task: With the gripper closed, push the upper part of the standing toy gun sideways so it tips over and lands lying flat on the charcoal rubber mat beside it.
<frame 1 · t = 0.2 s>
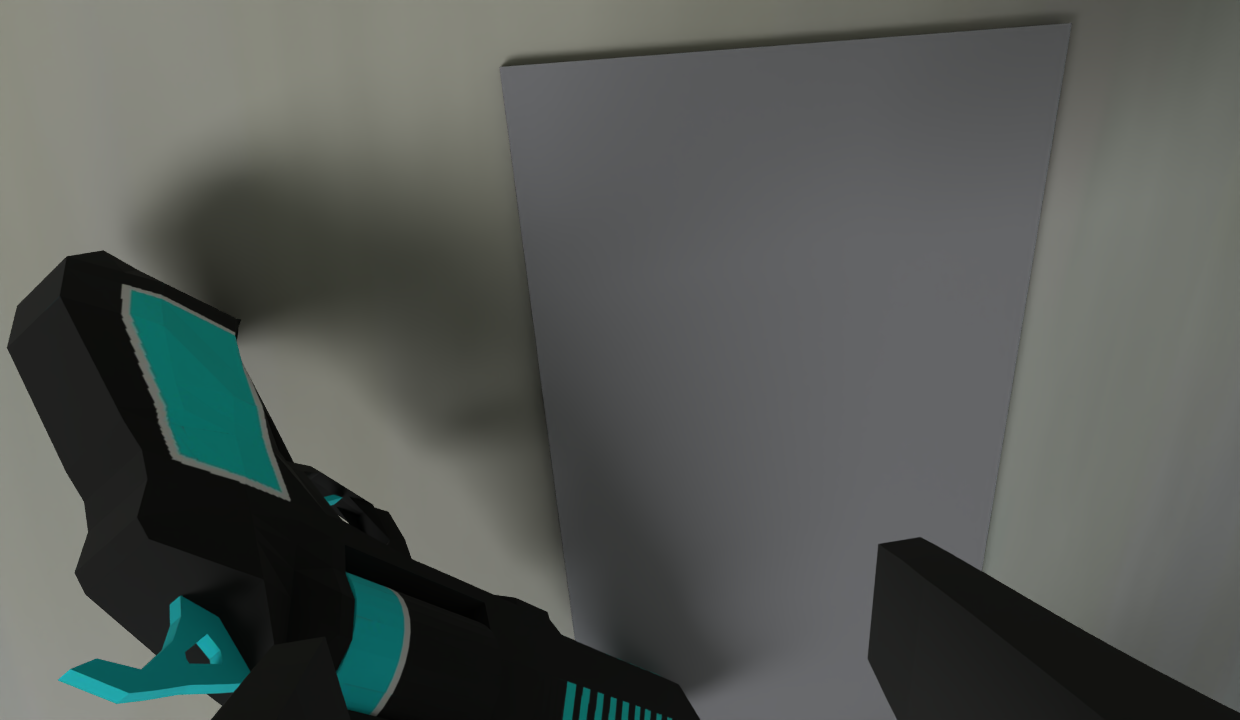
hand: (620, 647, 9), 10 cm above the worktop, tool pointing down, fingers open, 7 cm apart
mat: (785, 476, 21), on the worktop
toy gun: (454, 528, 19), on the worktop, touching mat
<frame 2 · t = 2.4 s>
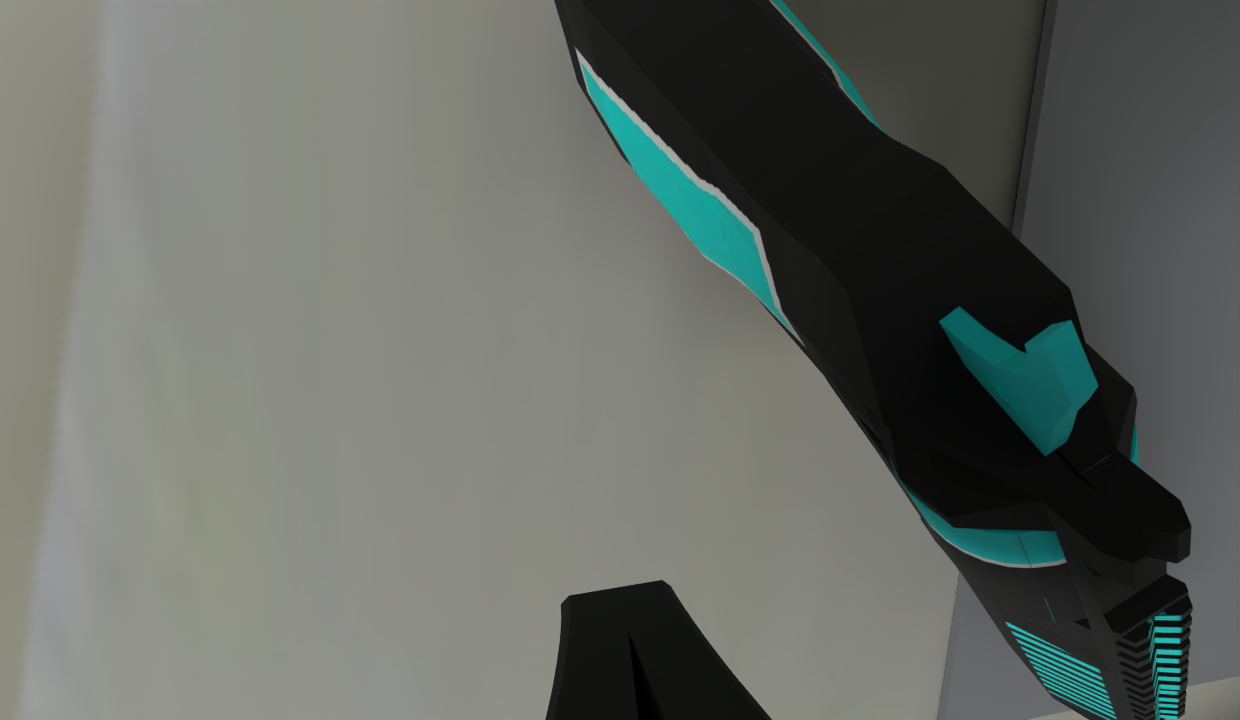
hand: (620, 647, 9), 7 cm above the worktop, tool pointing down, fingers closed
toy gun: (873, 383, 16), on the worktop, touching mat
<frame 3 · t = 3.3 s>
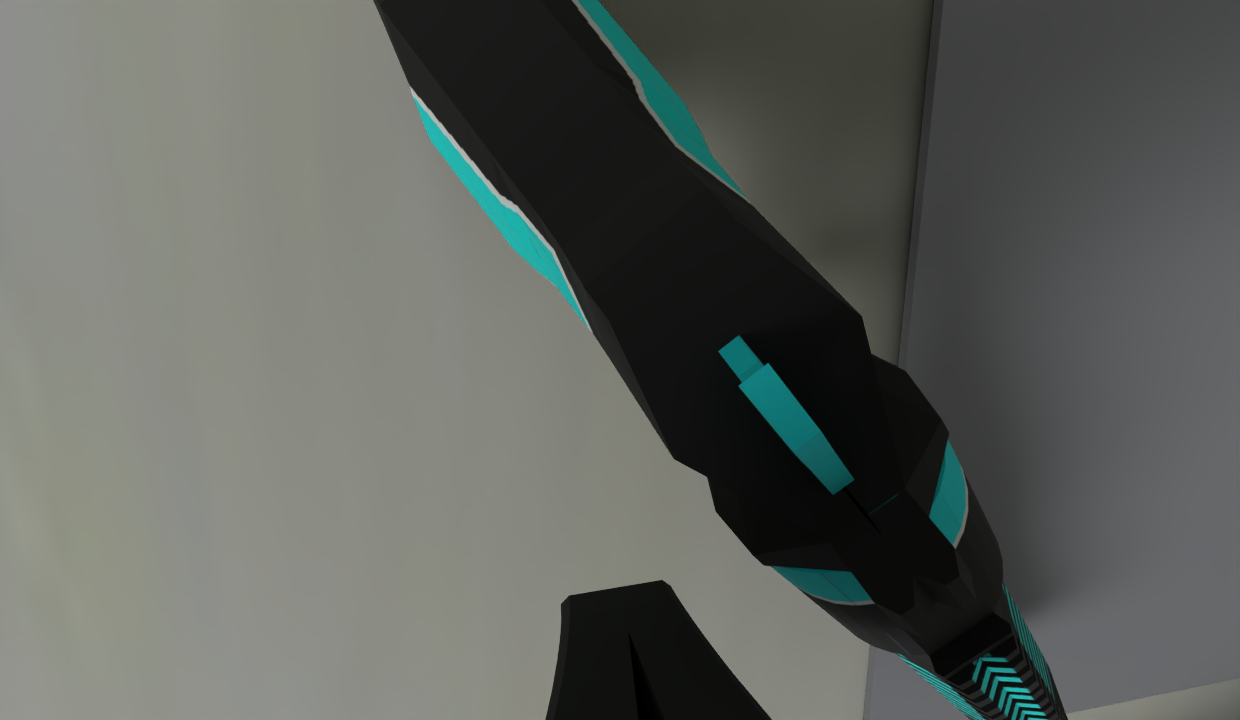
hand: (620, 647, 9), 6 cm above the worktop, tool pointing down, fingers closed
mat: (1163, 345, 16), on the worktop
toy gun: (773, 398, 15), on the worktop, touching mat
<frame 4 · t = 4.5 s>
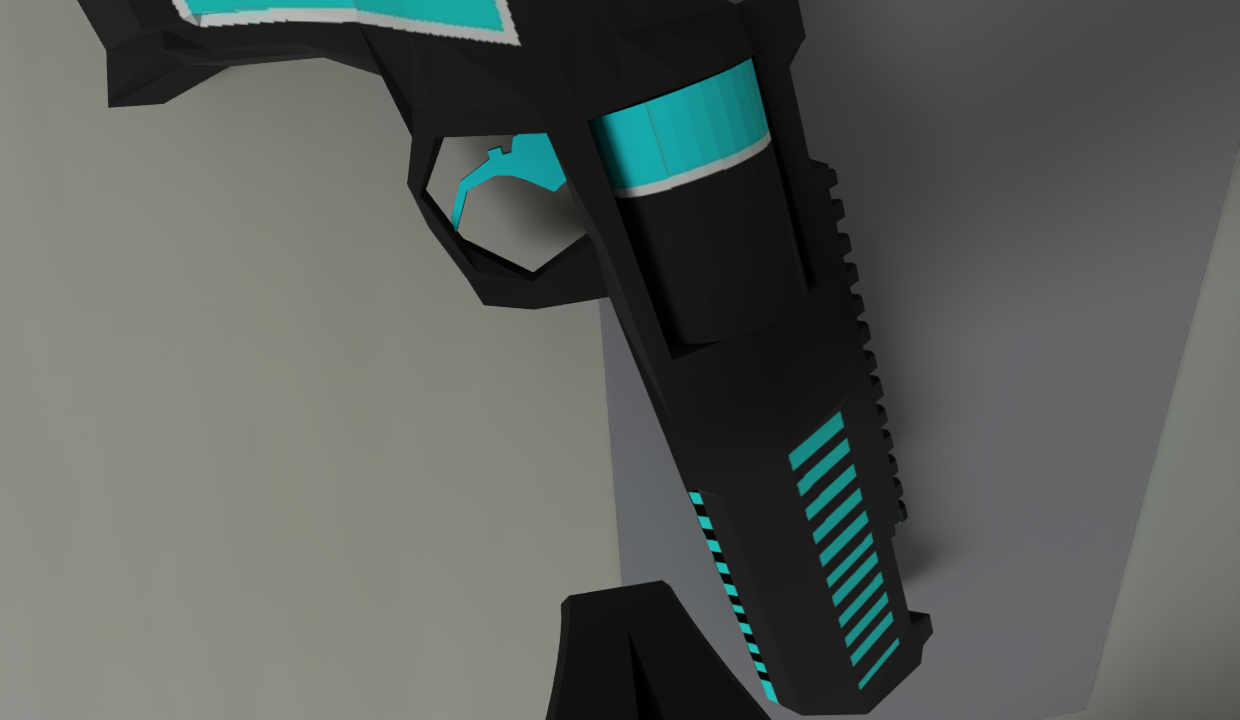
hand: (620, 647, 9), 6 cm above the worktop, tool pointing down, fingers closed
mat: (906, 380, 16), on the worktop
toy gun: (498, 449, 13), point 1 cm above the worktop, touching mat
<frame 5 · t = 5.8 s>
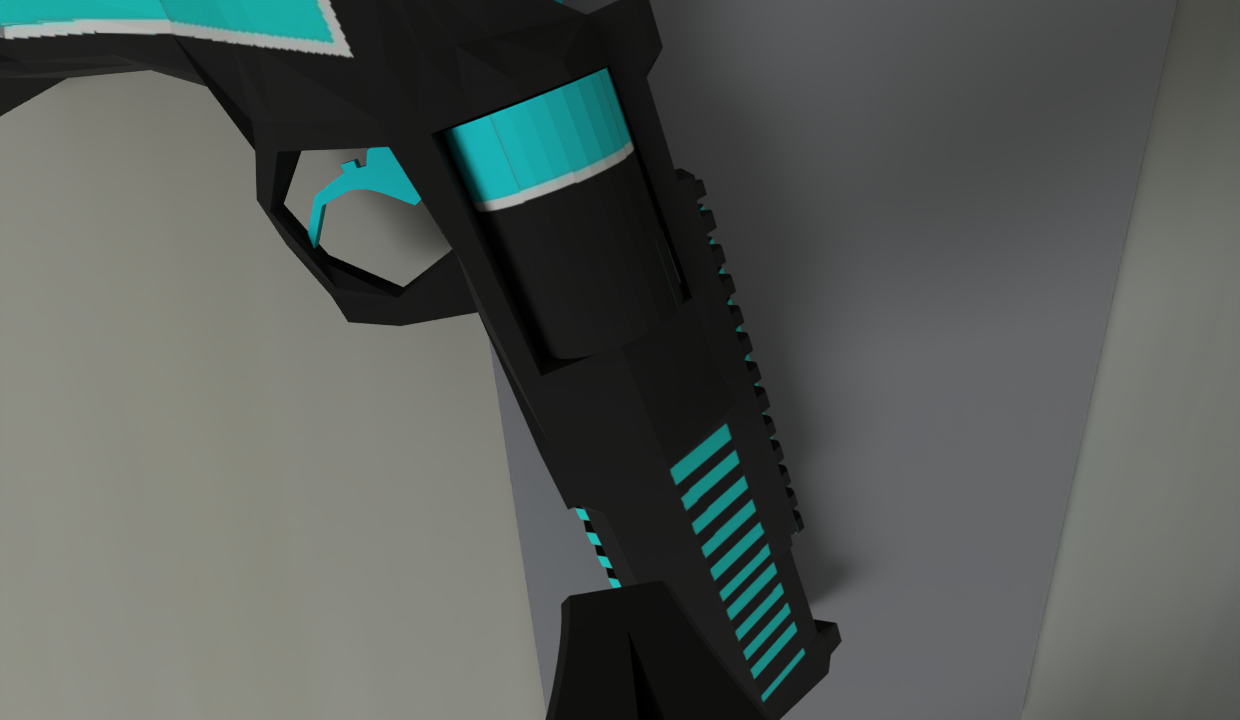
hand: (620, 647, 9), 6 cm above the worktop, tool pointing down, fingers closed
mat: (813, 392, 15), on the worktop
toy gun: (378, 468, 13), point 2 cm above the worktop, touching mat
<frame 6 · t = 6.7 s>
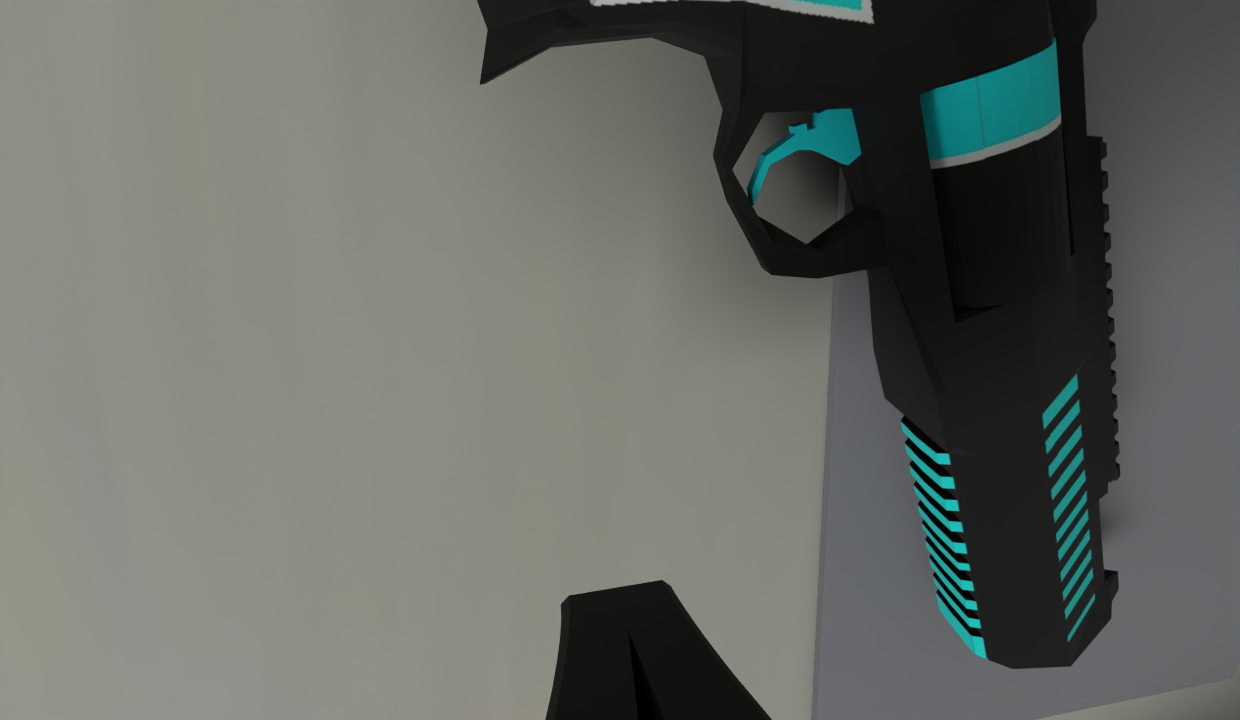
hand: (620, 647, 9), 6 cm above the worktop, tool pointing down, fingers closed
mat: (1102, 352, 16), on the worktop
toy gun: (755, 416, 14), point 2 cm above the worktop, touching mat
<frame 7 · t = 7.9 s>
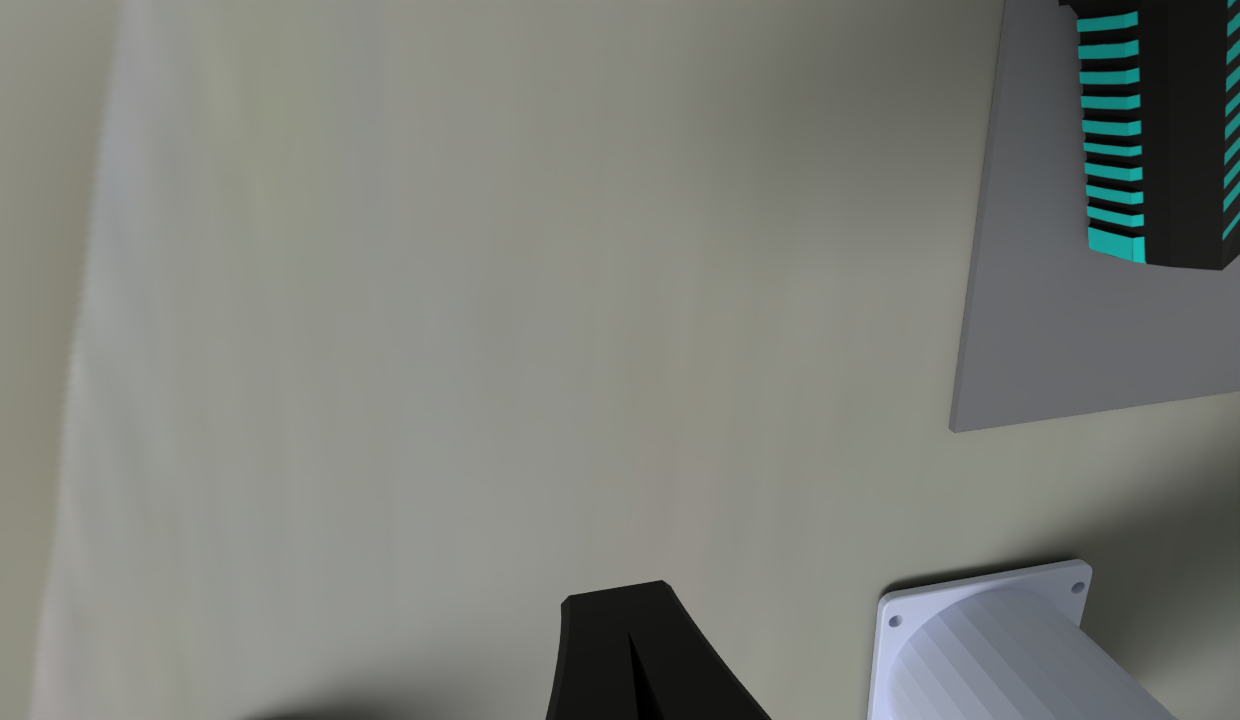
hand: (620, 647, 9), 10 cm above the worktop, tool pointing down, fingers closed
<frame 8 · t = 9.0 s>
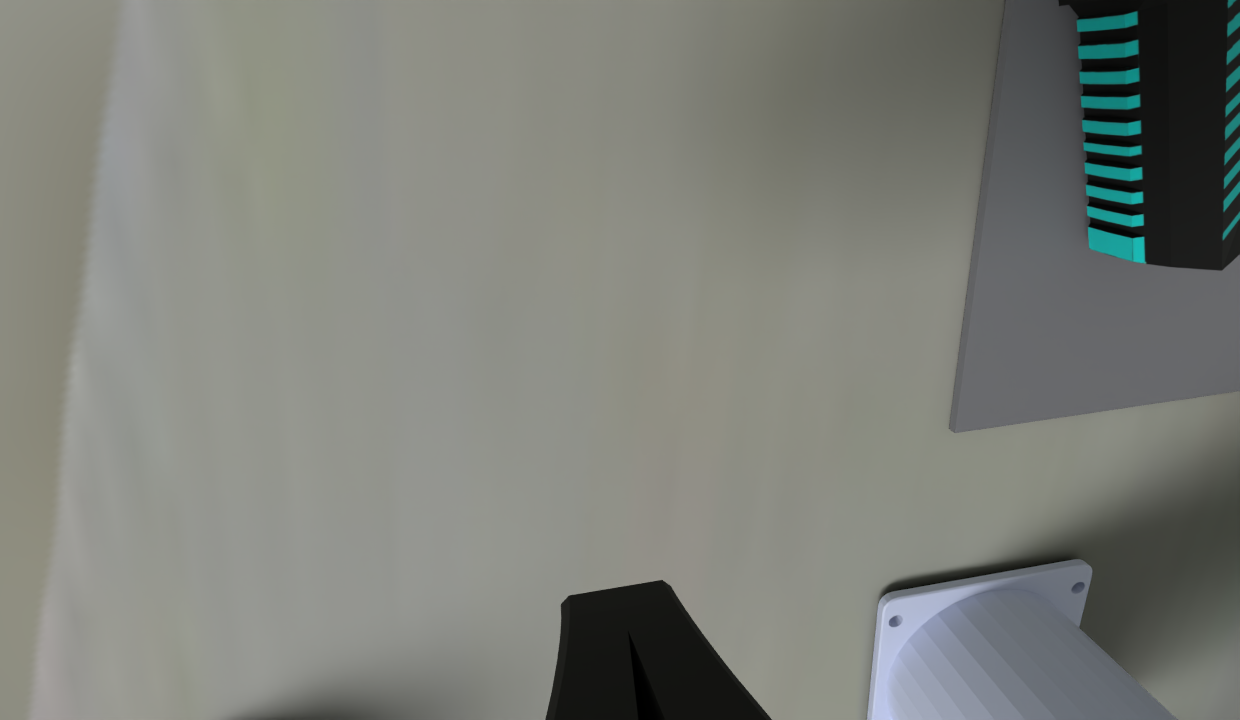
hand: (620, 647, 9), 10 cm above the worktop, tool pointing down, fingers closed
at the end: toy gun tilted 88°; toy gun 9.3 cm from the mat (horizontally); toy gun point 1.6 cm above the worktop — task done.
